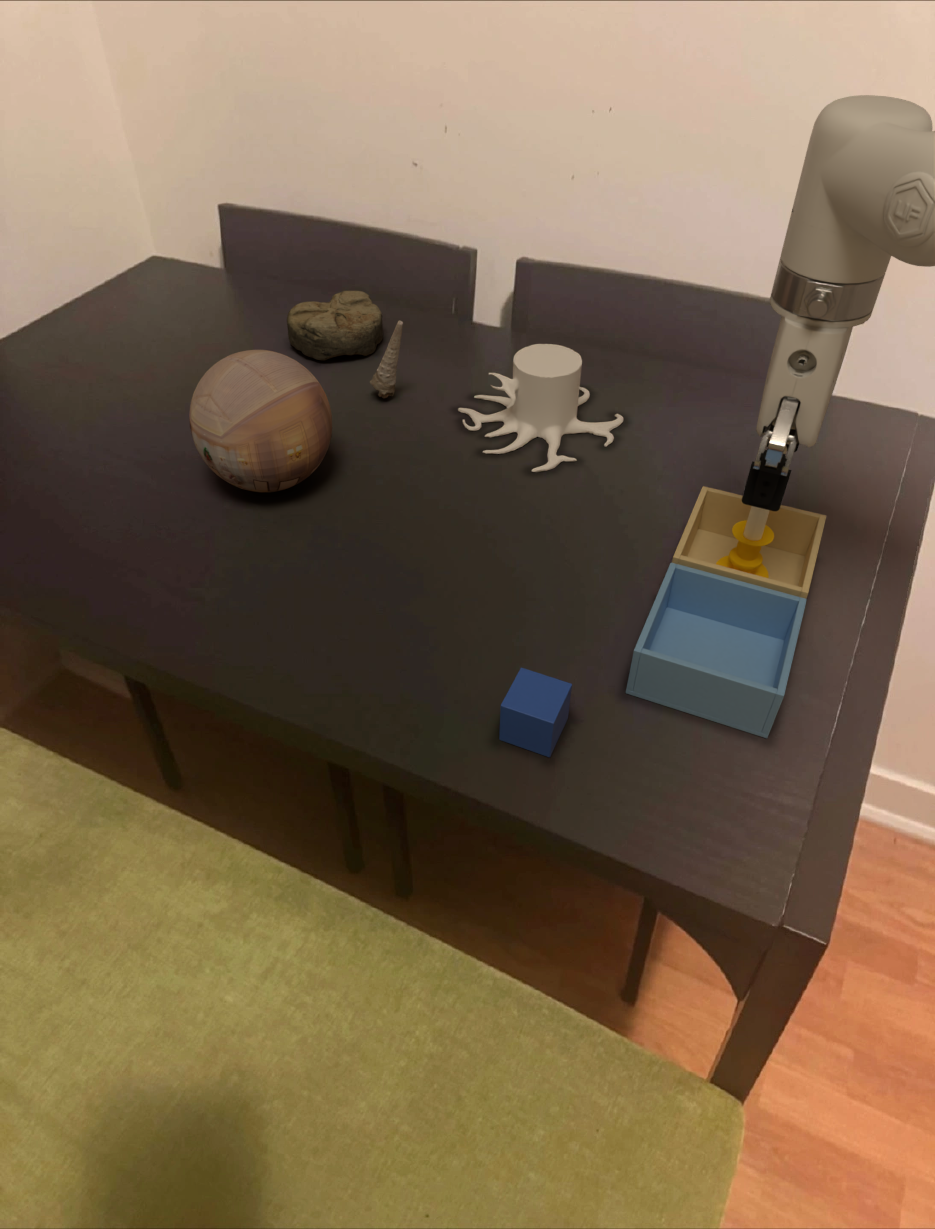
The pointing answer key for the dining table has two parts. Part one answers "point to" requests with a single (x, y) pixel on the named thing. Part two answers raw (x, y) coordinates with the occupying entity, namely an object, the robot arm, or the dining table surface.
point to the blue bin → (717, 649)
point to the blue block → (535, 711)
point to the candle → (750, 543)
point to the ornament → (260, 420)
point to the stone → (336, 326)
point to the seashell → (388, 365)
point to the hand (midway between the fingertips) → (770, 475)
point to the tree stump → (541, 402)
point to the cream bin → (782, 557)
